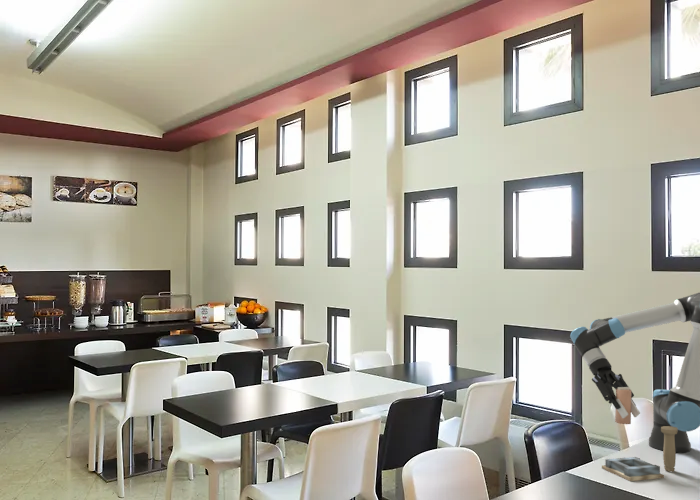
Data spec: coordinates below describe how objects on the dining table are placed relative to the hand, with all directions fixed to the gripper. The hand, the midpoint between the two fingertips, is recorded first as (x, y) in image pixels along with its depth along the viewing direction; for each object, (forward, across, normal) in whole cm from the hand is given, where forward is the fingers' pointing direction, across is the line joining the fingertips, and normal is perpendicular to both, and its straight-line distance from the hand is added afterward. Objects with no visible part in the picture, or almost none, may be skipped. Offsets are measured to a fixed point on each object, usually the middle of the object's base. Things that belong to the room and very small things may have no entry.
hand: (631, 415), depth 220 cm
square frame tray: (+17, +5, -9) cm, 20 cm away
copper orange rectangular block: (0, 0, -5) cm, 5 cm away
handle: (+19, -10, -7) cm, 22 cm away
